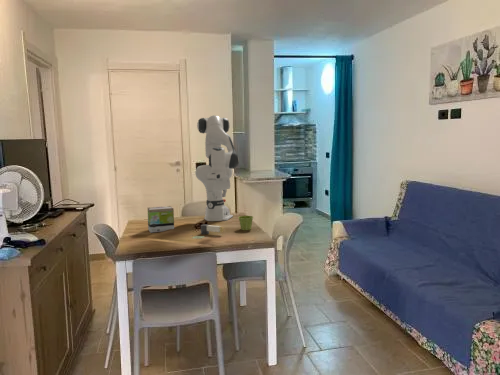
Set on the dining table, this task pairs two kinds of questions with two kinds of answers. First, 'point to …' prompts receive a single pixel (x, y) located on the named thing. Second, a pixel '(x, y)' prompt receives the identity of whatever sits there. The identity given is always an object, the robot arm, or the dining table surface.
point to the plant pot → (245, 222)
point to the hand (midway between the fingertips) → (219, 198)
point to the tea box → (160, 218)
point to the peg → (210, 229)
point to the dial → (201, 237)
